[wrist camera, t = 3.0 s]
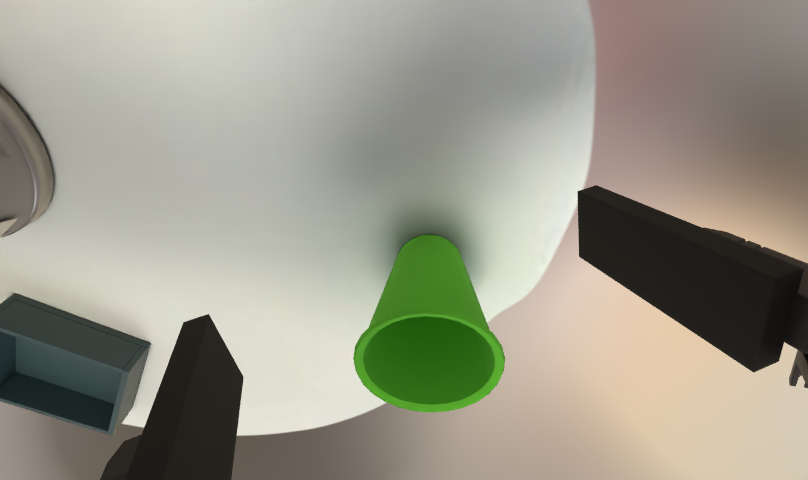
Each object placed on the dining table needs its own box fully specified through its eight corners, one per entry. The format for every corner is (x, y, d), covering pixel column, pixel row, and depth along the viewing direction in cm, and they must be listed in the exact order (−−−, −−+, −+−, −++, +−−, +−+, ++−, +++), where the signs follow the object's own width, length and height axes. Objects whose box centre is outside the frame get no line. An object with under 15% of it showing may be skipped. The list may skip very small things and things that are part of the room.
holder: (14, 368, 45) (-16, 396, 42) (14, 293, 38) (-21, 320, 35) (132, 407, 48) (112, 436, 44) (150, 343, 41) (129, 372, 38)
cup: (391, 197, 30) (373, 294, 21) (503, 230, 31) (532, 336, 22) (363, 284, 35) (339, 394, 26) (461, 310, 36) (470, 425, 27)
